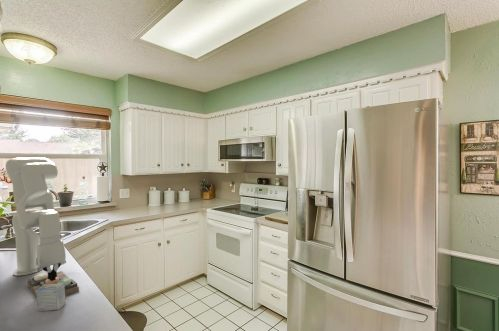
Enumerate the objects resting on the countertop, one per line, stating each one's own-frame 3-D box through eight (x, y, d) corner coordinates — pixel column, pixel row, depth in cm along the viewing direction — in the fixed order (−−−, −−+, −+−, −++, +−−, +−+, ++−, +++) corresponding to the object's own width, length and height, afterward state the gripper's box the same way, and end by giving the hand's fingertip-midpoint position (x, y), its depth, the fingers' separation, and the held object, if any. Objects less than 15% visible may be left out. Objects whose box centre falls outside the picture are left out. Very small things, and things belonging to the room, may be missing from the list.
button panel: (27, 285, 118) (27, 278, 118) (61, 275, 128) (61, 268, 128) (41, 304, 102) (41, 296, 102) (79, 291, 112) (78, 283, 112)
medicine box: (66, 304, 102) (65, 282, 101) (58, 310, 97) (56, 288, 97) (45, 305, 101) (44, 283, 101) (36, 311, 97) (35, 289, 97)
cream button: (33, 279, 118) (32, 275, 118) (46, 275, 122) (46, 271, 121) (35, 282, 114) (35, 278, 114) (49, 278, 118) (49, 274, 118)
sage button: (55, 285, 111) (55, 281, 111) (69, 281, 115) (69, 276, 115) (59, 289, 108) (58, 284, 108) (72, 284, 112) (72, 280, 112)
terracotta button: (44, 284, 115) (44, 280, 114) (57, 280, 118) (57, 275, 118) (47, 287, 111) (46, 283, 111) (60, 283, 115) (60, 278, 115)
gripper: (67, 234, 122) (69, 271, 123) (26, 242, 111) (29, 283, 111) (72, 236, 118) (74, 275, 118) (30, 245, 106) (33, 289, 107)
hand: (52, 279), depth 115 cm, fingers closed
